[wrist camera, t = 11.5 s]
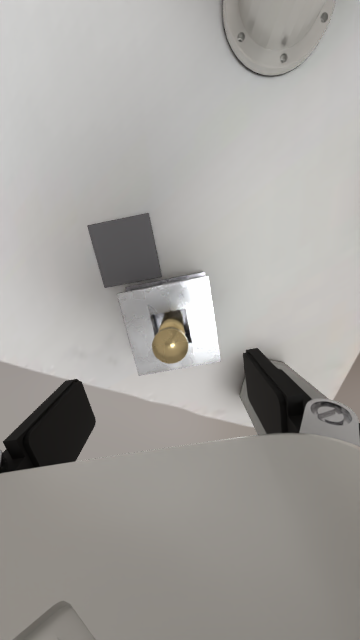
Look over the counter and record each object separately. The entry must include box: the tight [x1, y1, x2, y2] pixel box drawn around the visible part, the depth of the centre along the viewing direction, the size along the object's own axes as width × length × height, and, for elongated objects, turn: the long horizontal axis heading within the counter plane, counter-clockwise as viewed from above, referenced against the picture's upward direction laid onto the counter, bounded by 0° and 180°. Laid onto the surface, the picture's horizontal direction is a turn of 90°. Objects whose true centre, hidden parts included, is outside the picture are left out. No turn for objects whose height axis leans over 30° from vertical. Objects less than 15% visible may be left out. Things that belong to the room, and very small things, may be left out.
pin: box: [152, 310, 188, 364], centre depth 23 cm, size 3×3×12 cm
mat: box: [88, 213, 162, 288], centre depth 28 cm, size 9×9×1 cm
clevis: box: [117, 272, 221, 376], centre depth 27 cm, size 12×12×8 cm
